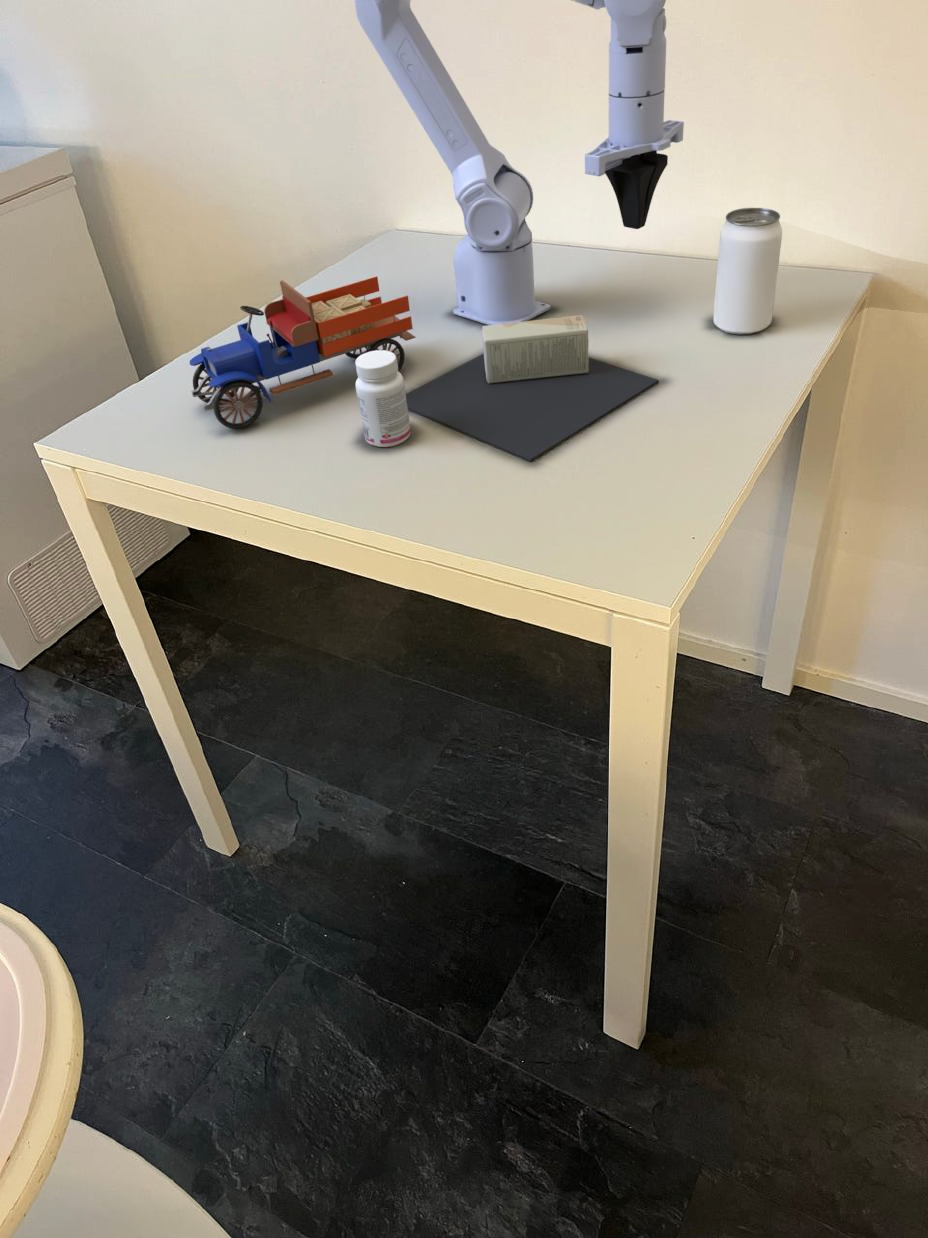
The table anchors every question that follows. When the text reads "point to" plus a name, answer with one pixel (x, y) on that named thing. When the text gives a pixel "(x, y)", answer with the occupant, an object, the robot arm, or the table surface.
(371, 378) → the pill bottle
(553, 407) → the mat
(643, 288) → the table surface
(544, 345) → the box
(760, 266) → the can
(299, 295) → the toy truck
